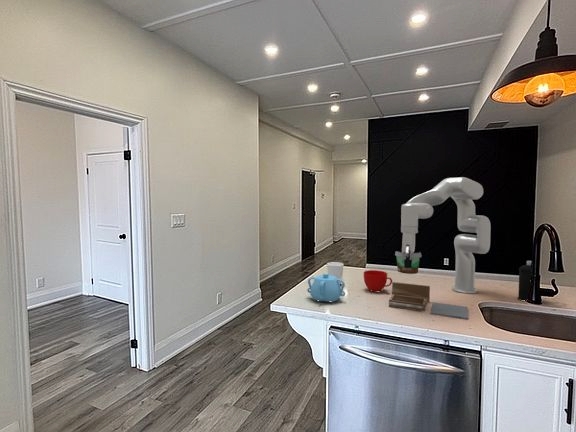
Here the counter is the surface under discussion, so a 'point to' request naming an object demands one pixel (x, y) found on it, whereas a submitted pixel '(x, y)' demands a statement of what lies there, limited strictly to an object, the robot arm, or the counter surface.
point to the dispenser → (409, 296)
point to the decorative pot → (326, 288)
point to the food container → (415, 263)
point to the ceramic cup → (376, 280)
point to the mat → (449, 310)
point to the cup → (335, 269)
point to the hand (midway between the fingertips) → (409, 266)
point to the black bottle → (524, 281)
